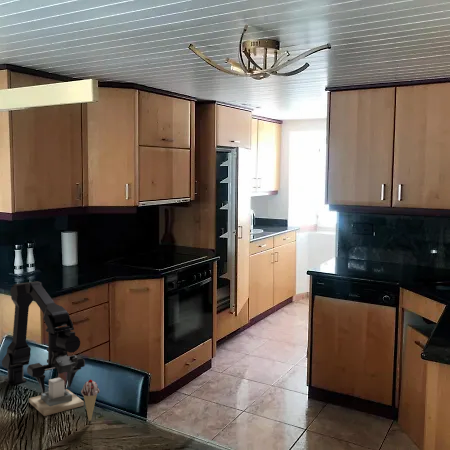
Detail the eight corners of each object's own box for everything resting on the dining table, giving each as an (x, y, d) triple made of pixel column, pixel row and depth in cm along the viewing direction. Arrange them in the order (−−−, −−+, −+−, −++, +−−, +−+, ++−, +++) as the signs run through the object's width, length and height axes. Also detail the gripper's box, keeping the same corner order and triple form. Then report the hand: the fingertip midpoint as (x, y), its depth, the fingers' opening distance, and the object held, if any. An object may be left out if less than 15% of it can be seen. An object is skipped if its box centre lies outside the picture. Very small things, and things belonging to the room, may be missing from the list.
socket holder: (29, 402, 178) (29, 392, 178) (67, 392, 187) (67, 383, 187) (44, 416, 167) (44, 405, 167) (83, 405, 177) (83, 395, 176)
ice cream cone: (79, 422, 163) (79, 377, 163) (97, 419, 166) (97, 375, 165) (82, 430, 158) (82, 383, 157) (100, 427, 161) (101, 381, 160)
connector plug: (48, 399, 177) (48, 379, 177) (59, 396, 180) (59, 377, 180) (53, 403, 174) (53, 383, 174) (64, 400, 177) (64, 380, 177)
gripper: (39, 357, 164) (38, 403, 165) (92, 347, 176) (91, 390, 177) (26, 348, 172) (26, 393, 173) (78, 339, 184) (77, 381, 185)
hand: (56, 389), depth 177 cm, fingers open, 9 cm apart
